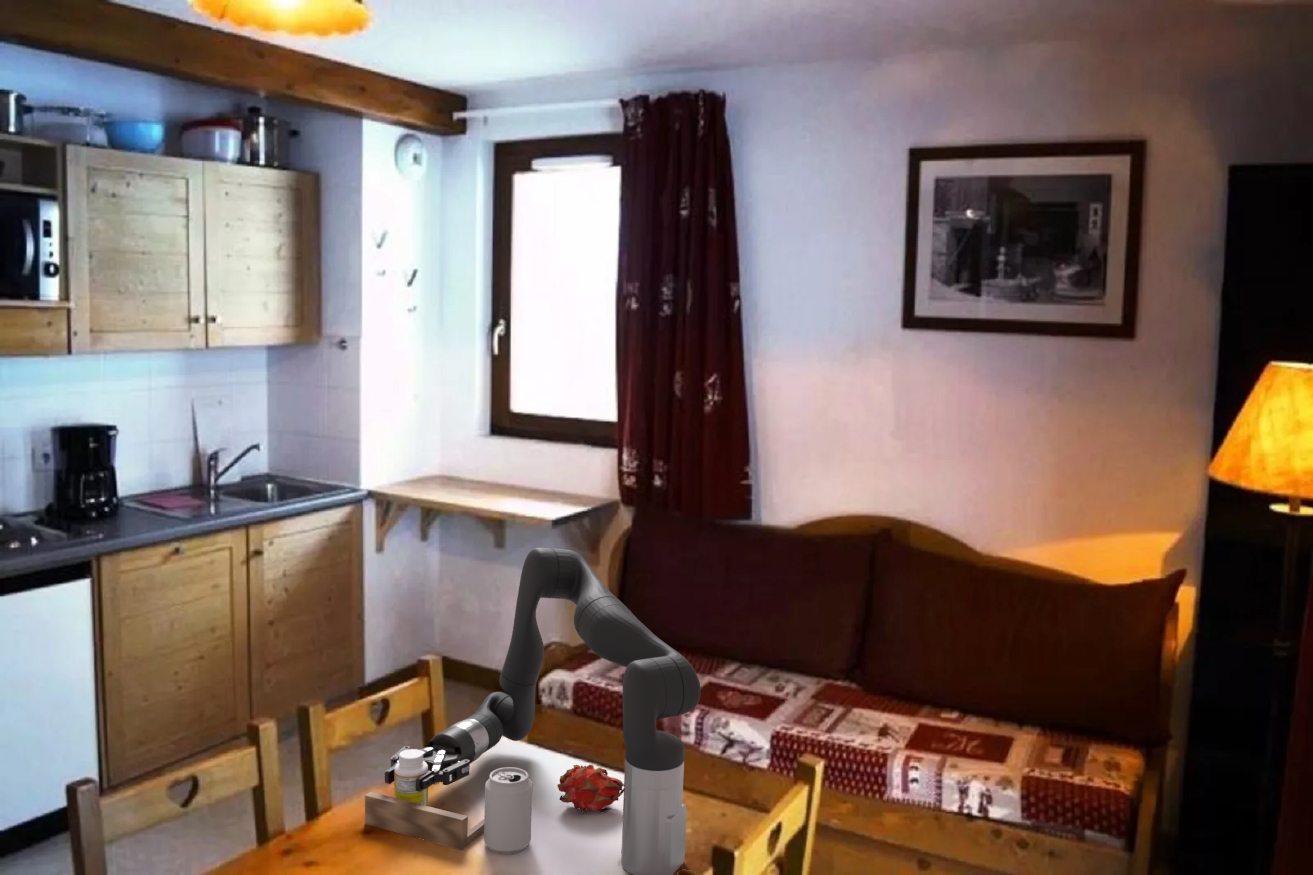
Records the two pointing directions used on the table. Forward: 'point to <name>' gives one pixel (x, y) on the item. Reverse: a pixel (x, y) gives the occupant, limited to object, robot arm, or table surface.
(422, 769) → the supplement bottle
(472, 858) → the table surface
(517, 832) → the can
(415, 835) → the l-shaped bracket
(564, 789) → the dragon fruit
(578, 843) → the table surface
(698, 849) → the table surface
